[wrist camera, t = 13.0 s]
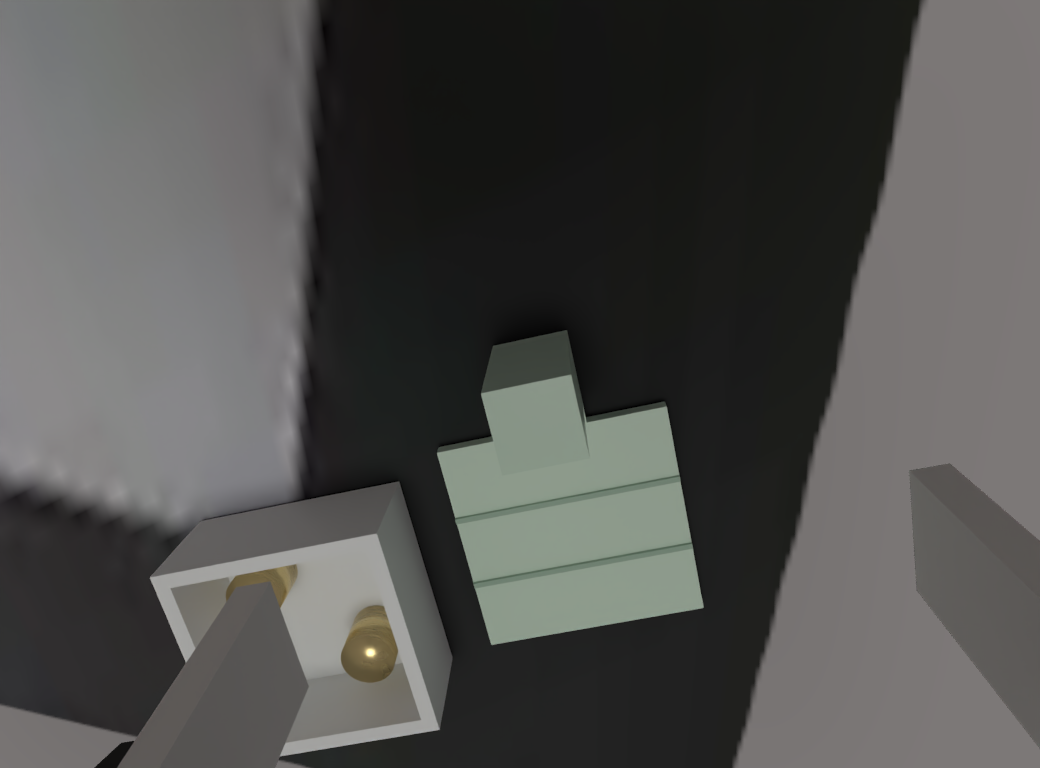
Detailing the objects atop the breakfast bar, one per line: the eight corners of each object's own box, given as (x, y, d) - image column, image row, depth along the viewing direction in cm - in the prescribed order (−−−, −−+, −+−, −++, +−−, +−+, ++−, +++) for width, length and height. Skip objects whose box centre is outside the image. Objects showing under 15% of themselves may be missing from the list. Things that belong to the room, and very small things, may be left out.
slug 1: (239, 551, 45) (218, 580, 42) (288, 542, 44) (270, 570, 41) (255, 596, 46) (236, 627, 43) (304, 587, 45) (288, 617, 42)
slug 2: (347, 610, 46) (333, 642, 43) (396, 601, 45) (386, 632, 42) (361, 652, 46) (349, 686, 44) (410, 644, 46) (401, 677, 43)
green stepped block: (414, 362, 42) (386, 413, 34) (648, 312, 40) (670, 353, 33) (492, 636, 47) (481, 731, 39) (701, 599, 46) (730, 691, 38)
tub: (200, 521, 45) (149, 577, 39) (398, 481, 44) (376, 533, 38) (266, 690, 49) (229, 764, 43) (452, 657, 47) (439, 729, 42)
